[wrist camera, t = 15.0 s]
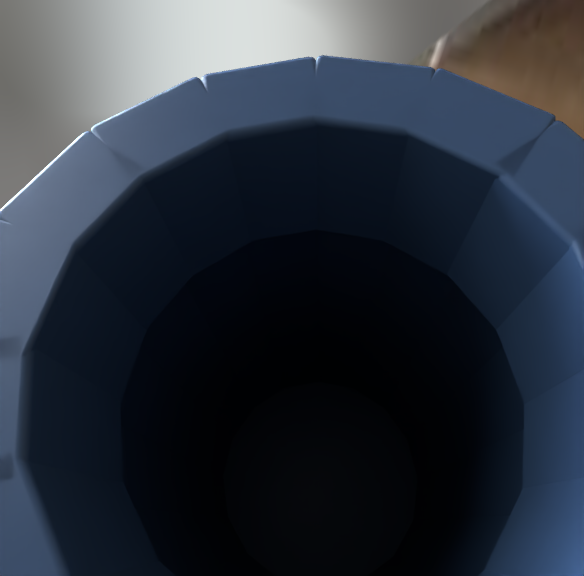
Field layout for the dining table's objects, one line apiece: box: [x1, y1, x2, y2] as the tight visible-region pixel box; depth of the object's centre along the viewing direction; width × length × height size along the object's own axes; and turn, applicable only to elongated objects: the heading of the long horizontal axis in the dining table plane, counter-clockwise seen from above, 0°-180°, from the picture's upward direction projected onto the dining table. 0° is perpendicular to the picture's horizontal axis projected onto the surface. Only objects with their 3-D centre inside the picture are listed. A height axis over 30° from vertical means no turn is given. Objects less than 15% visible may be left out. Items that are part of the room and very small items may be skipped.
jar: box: [0, 55, 584, 576], centre depth 10 cm, size 7×7×14 cm
